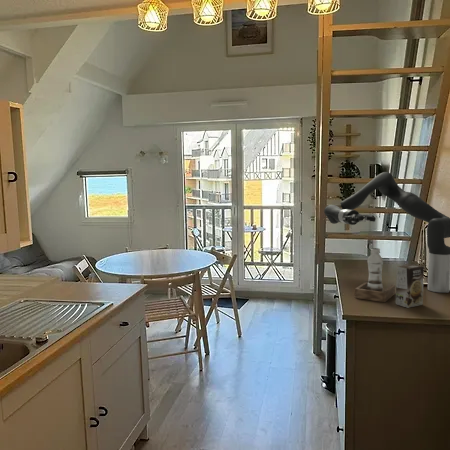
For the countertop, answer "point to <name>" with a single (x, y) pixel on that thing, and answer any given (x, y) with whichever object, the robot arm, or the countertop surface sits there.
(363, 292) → the walnut bay
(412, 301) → the coffee box
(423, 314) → the countertop surface
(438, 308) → the countertop surface
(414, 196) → the robot arm
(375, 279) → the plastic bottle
